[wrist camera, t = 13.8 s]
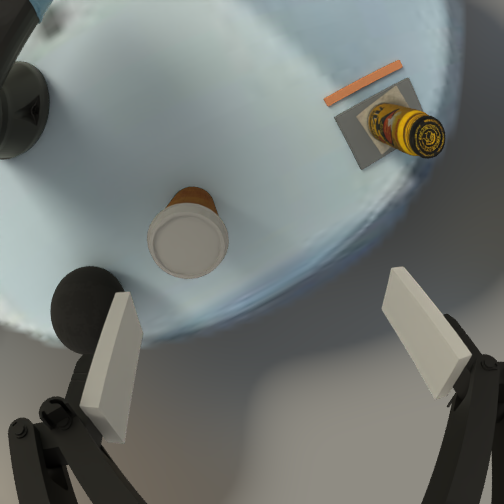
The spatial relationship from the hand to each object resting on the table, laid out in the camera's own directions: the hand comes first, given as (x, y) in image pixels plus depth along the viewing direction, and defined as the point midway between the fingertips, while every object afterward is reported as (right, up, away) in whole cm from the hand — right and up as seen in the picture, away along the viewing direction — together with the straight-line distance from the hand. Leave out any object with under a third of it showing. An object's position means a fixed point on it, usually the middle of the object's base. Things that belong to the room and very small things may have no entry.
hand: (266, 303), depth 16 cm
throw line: (+15, +27, +23) cm, 39 cm away
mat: (+19, +22, +27) cm, 39 cm away
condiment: (+19, +22, +26) cm, 39 cm away
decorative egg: (-26, -2, +35) cm, 44 cm away
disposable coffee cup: (-9, +9, +31) cm, 33 cm away
